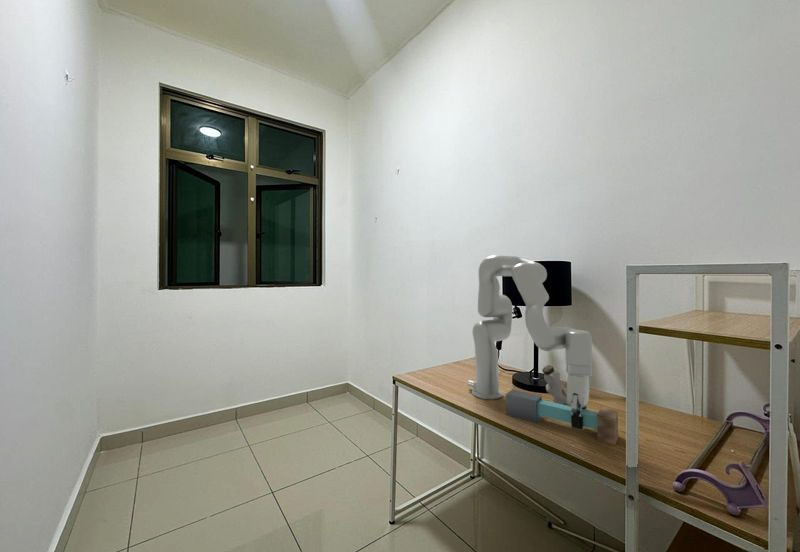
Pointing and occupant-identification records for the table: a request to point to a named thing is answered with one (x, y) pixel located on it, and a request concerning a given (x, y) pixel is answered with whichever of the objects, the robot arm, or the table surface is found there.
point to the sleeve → (522, 405)
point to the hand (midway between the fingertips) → (579, 423)
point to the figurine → (555, 385)
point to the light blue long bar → (565, 413)
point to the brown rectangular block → (607, 425)
